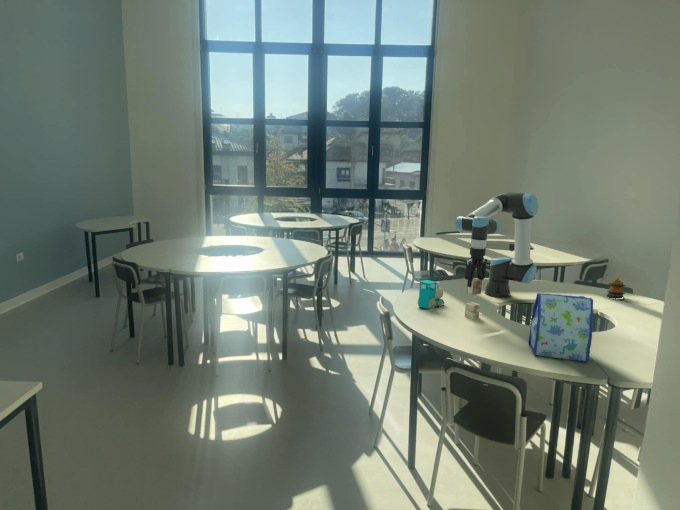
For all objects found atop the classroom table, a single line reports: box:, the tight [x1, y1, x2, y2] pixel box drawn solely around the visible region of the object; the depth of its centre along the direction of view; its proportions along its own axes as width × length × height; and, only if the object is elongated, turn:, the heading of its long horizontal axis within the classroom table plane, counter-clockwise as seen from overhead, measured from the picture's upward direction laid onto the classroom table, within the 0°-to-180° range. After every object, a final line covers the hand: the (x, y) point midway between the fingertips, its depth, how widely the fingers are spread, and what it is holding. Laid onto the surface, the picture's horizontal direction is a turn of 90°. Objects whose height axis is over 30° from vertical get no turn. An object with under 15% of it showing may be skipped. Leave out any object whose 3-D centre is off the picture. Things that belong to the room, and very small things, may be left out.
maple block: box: [464, 301, 481, 320], centre depth 242 cm, size 5×5×7 cm
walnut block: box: [466, 277, 483, 295], centre depth 239 cm, size 5×5×7 cm
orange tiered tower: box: [606, 277, 627, 299], centre depth 294 cm, size 13×10×12 cm
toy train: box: [417, 279, 445, 310], centre depth 261 cm, size 8×17×15 cm, turn 135°
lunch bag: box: [528, 292, 594, 363], centre depth 199 cm, size 22×17×26 cm
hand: (473, 292), depth 240 cm, fingers closed on walnut block, 5 cm apart
